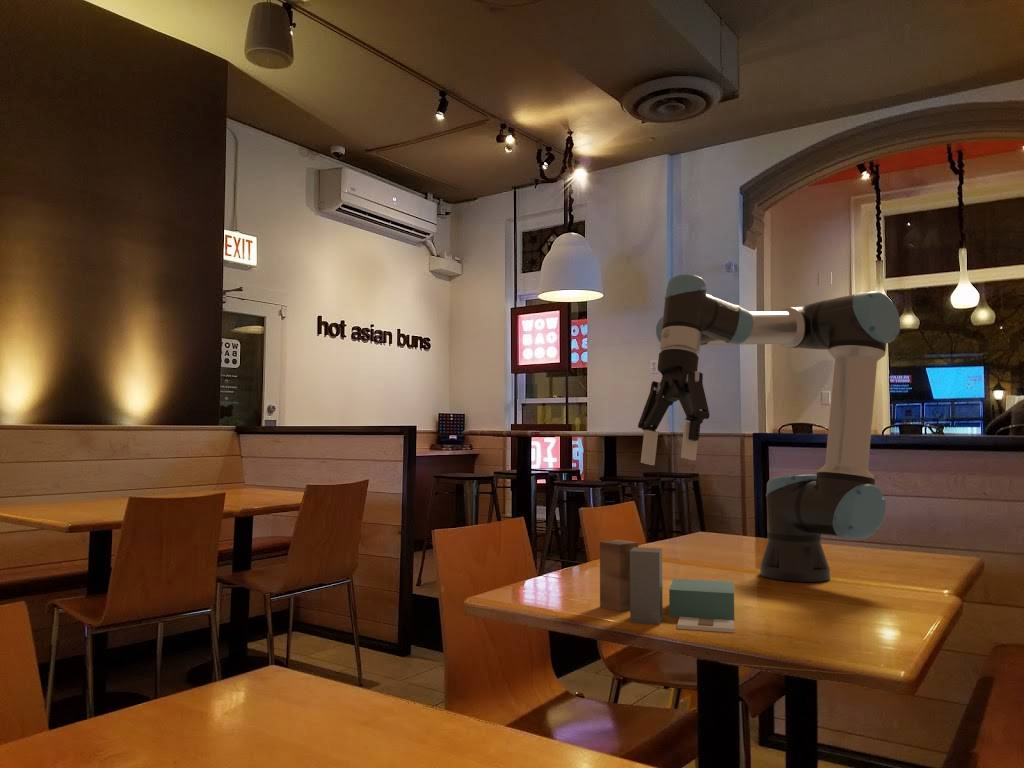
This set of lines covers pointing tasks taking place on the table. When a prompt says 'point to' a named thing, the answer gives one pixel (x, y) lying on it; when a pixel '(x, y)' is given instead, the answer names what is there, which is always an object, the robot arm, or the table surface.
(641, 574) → the grey metal block
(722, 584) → the teal pedestal
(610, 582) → the walnut block
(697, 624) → the card
